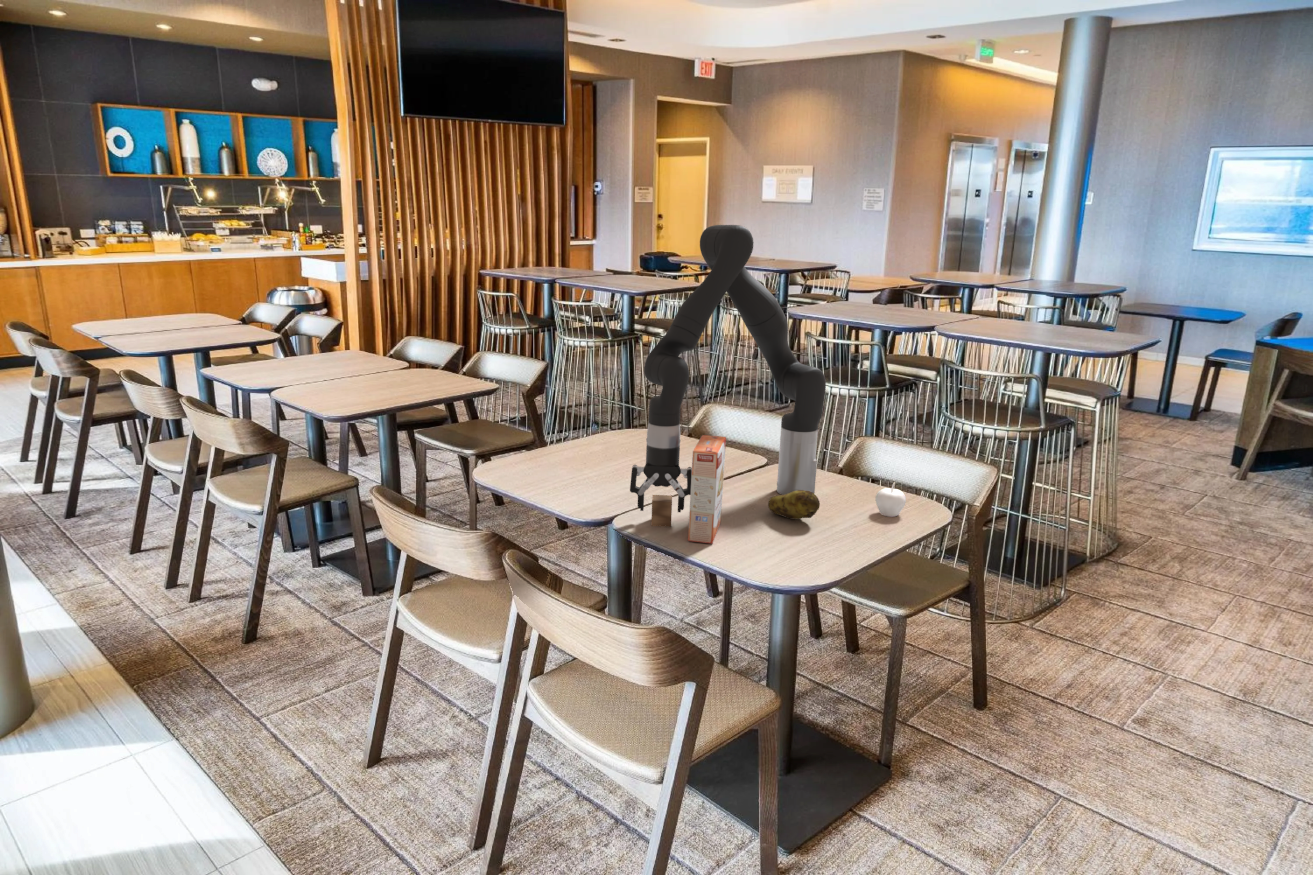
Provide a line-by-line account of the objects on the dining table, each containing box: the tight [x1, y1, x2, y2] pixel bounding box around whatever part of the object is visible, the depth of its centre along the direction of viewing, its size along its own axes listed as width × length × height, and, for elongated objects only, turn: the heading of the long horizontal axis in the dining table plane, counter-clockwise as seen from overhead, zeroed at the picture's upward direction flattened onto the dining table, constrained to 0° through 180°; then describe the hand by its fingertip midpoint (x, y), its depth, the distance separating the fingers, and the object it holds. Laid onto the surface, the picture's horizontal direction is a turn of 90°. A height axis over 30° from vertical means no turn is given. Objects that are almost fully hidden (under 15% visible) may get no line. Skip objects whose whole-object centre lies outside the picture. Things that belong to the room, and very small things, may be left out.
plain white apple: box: [875, 481, 907, 518], centre depth 209 cm, size 7×7×8 cm
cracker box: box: [687, 434, 727, 545], centre depth 192 cm, size 14×6×21 cm, turn 168°
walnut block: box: [650, 494, 673, 528], centre depth 199 cm, size 4×4×6 cm
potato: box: [767, 490, 821, 520], centre depth 203 cm, size 8×13×8 cm, turn 25°
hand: (660, 510), depth 199 cm, fingers open, 8 cm apart
